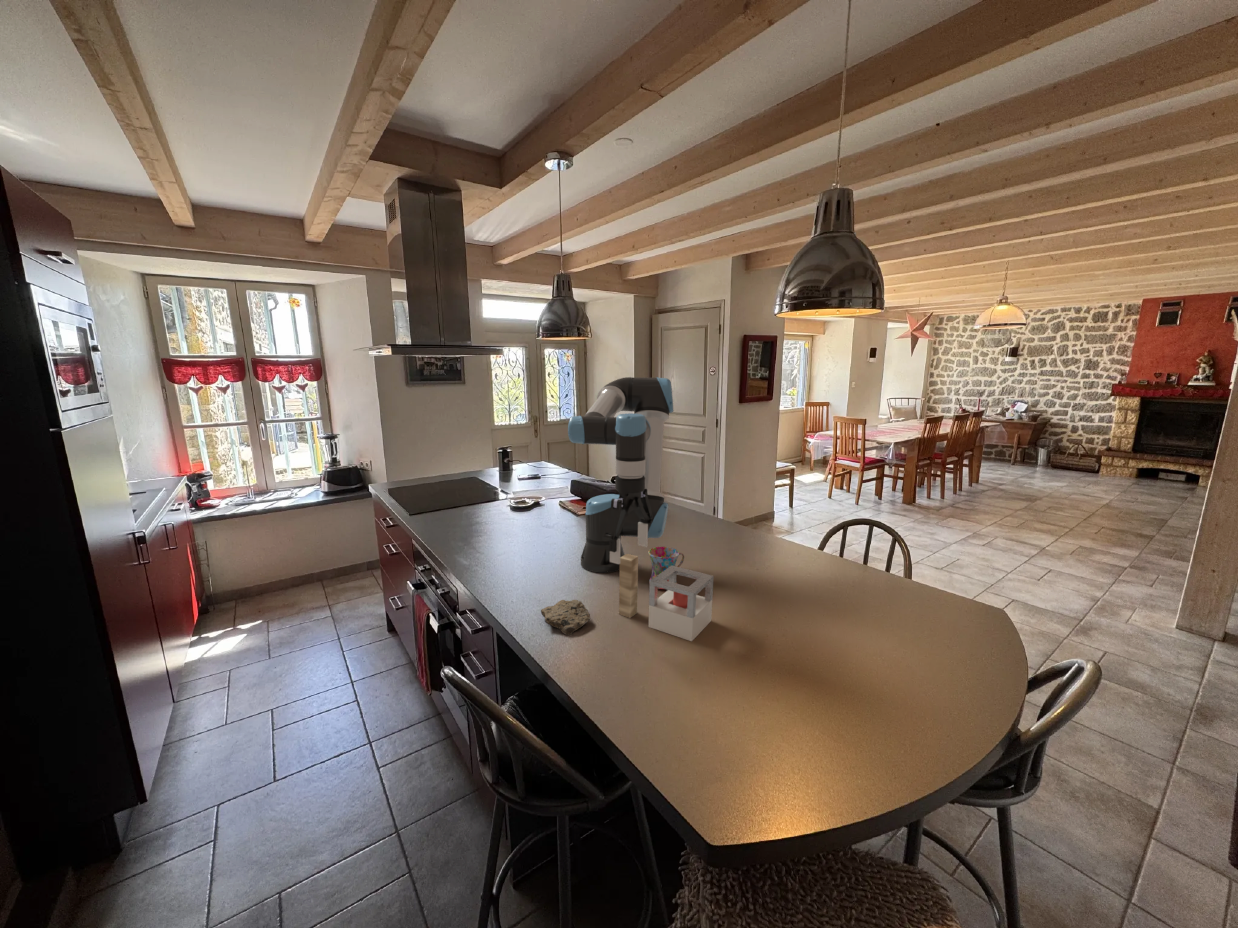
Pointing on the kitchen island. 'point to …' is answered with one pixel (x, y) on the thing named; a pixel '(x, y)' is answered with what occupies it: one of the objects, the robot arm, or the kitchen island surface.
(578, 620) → the rock
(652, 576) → the mug
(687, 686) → the kitchen island surface
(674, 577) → the frame
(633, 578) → the tall wooden block
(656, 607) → the box
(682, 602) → the red dome button
